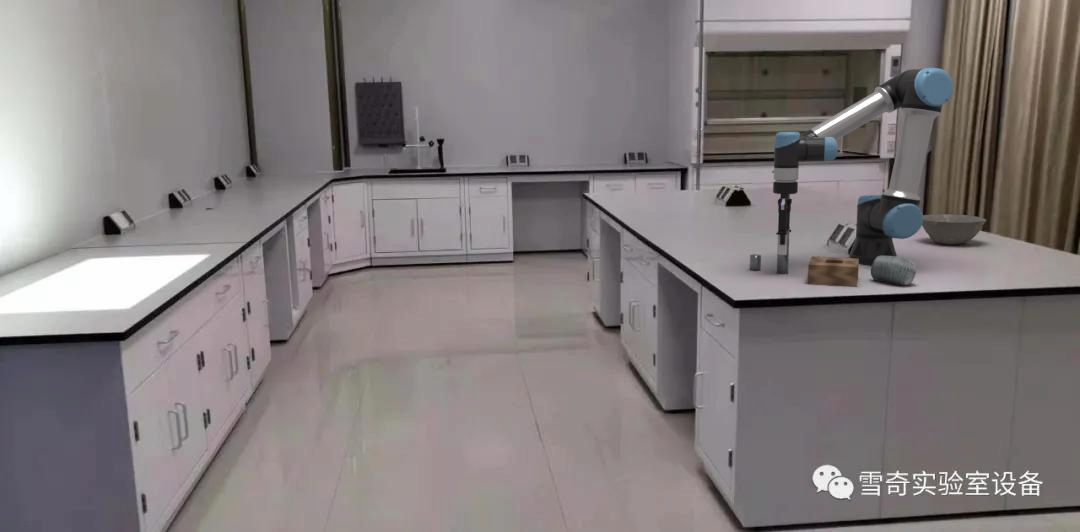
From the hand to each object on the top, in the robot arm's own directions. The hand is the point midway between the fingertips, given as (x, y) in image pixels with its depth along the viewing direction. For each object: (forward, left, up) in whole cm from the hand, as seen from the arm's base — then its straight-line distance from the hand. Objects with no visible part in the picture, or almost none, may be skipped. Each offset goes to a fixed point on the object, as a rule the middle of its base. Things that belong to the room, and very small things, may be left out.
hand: (782, 253), depth 264 cm
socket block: (-16, +7, -7) cm, 19 cm away
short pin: (+9, -3, -7) cm, 12 cm away
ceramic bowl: (-54, -74, -7) cm, 92 cm away
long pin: (0, 0, -7) cm, 7 cm away
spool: (-33, +5, -7) cm, 34 cm away
